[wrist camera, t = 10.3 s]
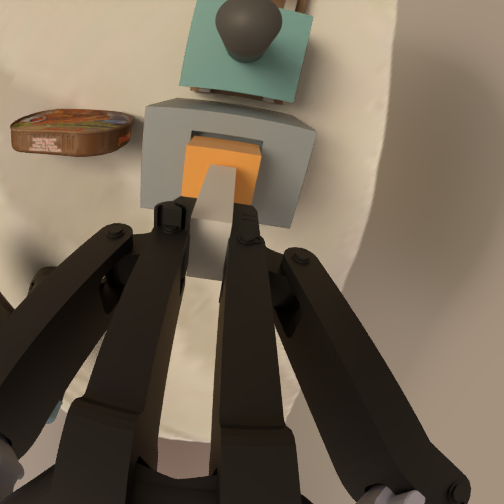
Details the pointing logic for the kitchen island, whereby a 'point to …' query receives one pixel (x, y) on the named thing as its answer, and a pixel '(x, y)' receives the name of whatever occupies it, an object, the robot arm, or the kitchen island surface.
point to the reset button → (223, 154)
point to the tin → (71, 132)
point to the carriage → (246, 48)
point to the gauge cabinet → (235, 129)
